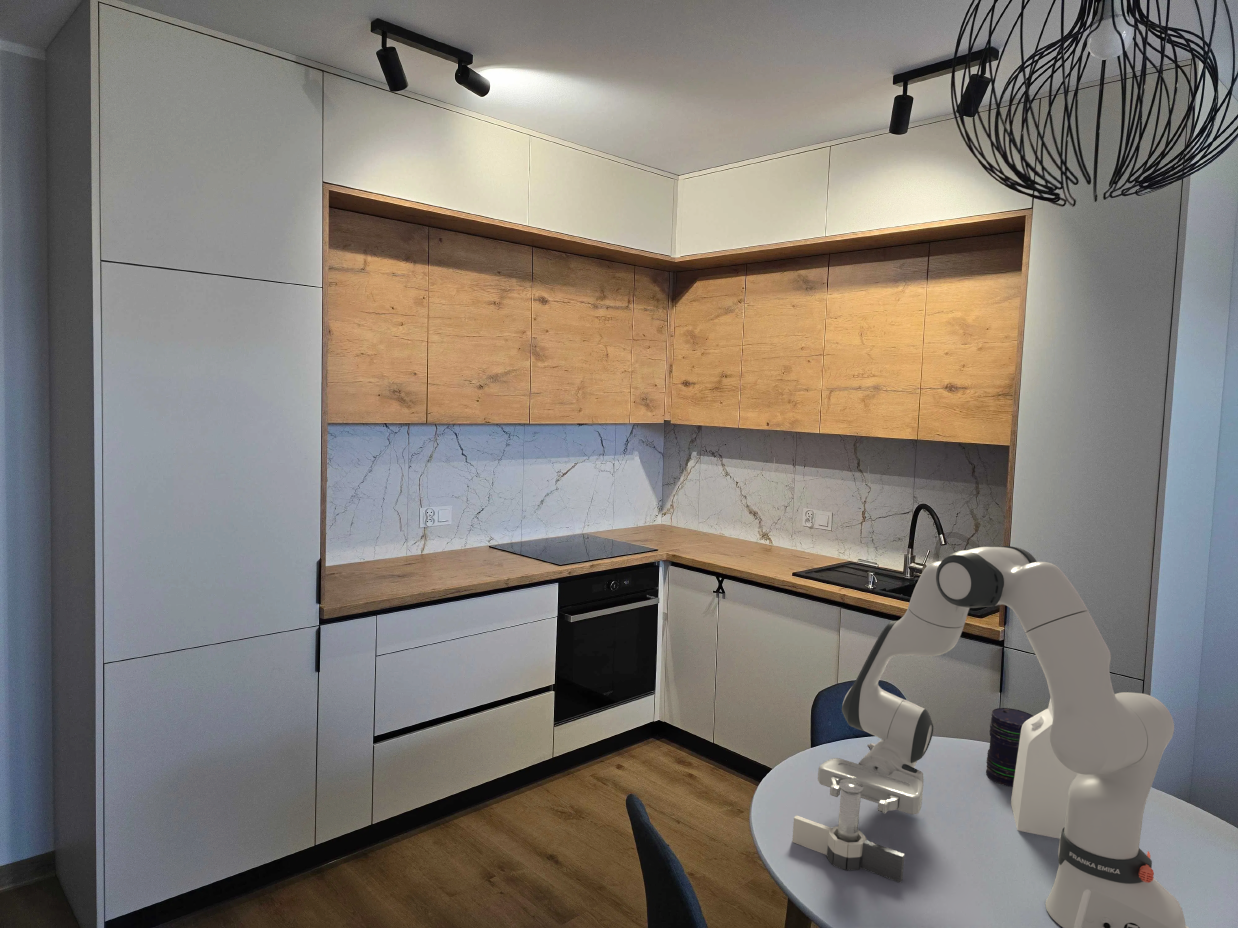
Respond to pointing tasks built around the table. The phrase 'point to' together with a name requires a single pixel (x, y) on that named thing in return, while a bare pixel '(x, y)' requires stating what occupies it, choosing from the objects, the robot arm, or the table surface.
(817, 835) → the hinge leaf
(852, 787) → the hinge pin
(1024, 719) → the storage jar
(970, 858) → the table surface
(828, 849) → the hinge leaf
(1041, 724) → the milk
